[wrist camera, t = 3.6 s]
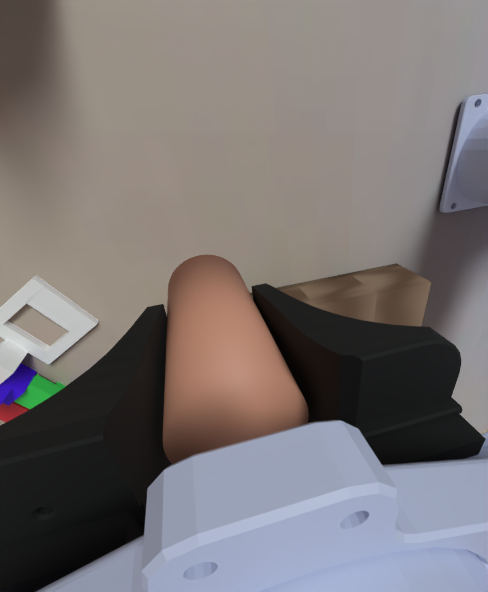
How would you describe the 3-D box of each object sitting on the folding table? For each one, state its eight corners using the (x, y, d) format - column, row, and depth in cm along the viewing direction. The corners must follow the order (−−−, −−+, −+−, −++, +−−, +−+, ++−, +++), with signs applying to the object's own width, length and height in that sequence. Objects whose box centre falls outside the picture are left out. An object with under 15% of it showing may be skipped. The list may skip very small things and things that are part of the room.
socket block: (396, 263, 26) (431, 282, 22) (380, 365, 31) (406, 392, 28) (243, 294, 24) (255, 320, 20) (256, 397, 29) (267, 430, 26)
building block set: (31, 523, 32) (11, 575, 28) (-226, 450, 22) (-313, 517, 18) (204, 393, 29) (209, 433, 25) (-4, 239, 19) (-51, 265, 15)
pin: (238, 248, 13) (308, 359, 6) (246, 313, 15) (308, 457, 8) (159, 262, 13) (143, 399, 6) (177, 328, 15) (181, 493, 8)
